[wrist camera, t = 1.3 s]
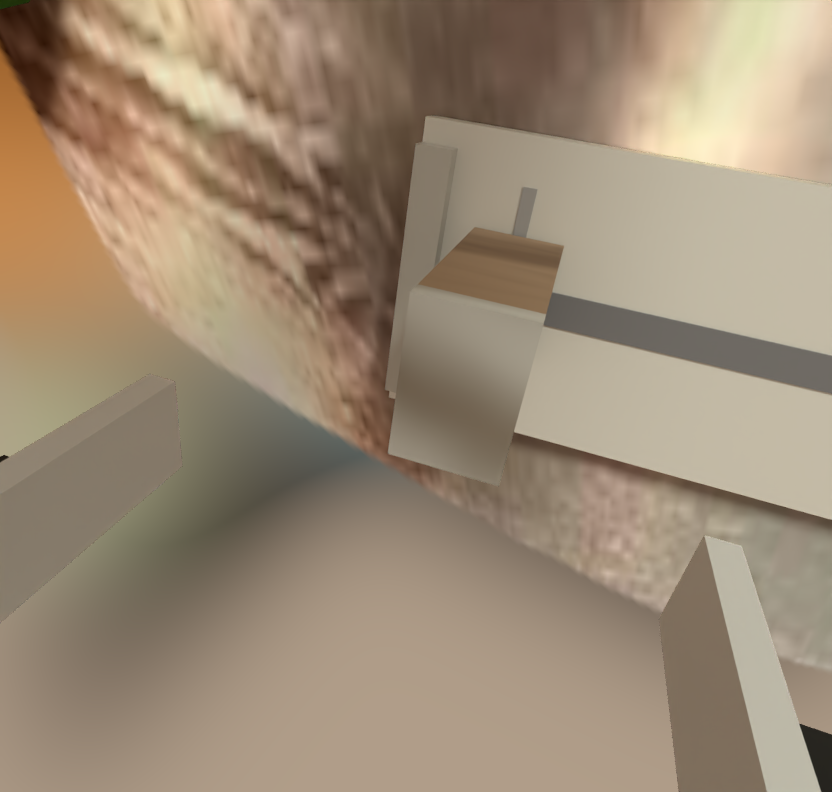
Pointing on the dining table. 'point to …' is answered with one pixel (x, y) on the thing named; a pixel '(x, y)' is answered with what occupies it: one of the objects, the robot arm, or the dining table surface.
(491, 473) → the fader knob
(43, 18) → the dining table surface
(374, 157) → the dining table surface
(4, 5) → the bell pepper
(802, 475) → the slider console
